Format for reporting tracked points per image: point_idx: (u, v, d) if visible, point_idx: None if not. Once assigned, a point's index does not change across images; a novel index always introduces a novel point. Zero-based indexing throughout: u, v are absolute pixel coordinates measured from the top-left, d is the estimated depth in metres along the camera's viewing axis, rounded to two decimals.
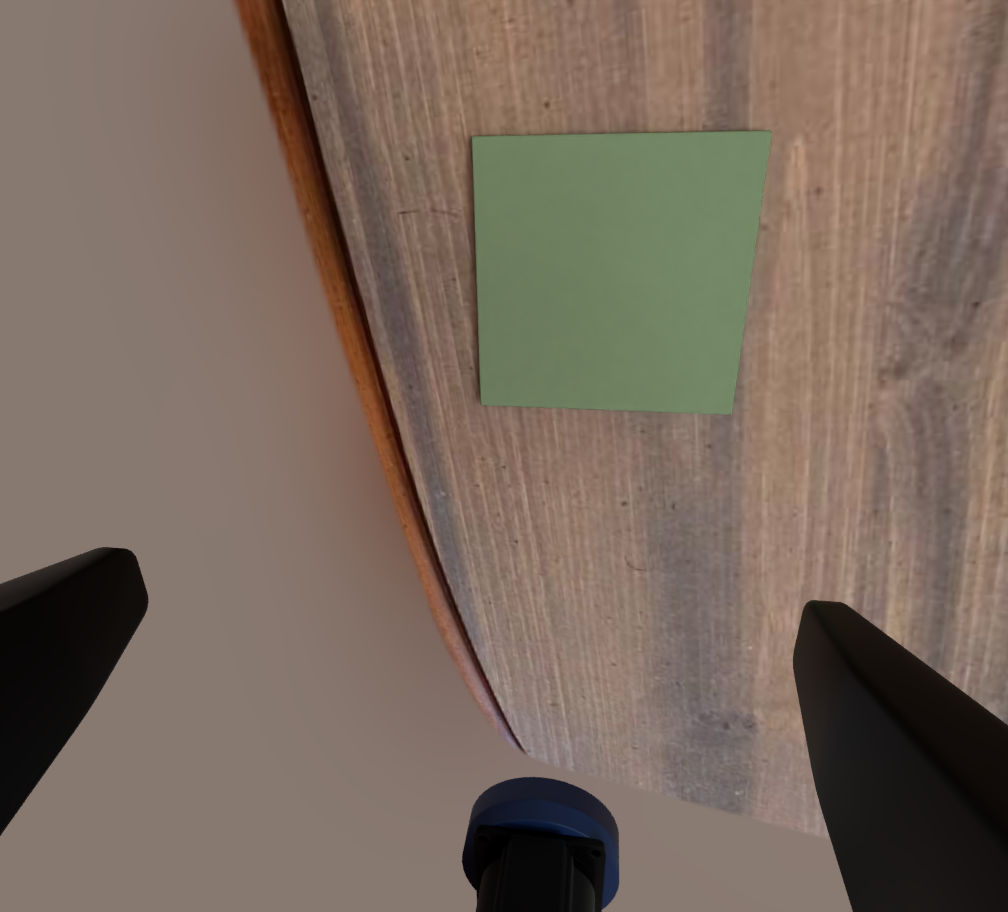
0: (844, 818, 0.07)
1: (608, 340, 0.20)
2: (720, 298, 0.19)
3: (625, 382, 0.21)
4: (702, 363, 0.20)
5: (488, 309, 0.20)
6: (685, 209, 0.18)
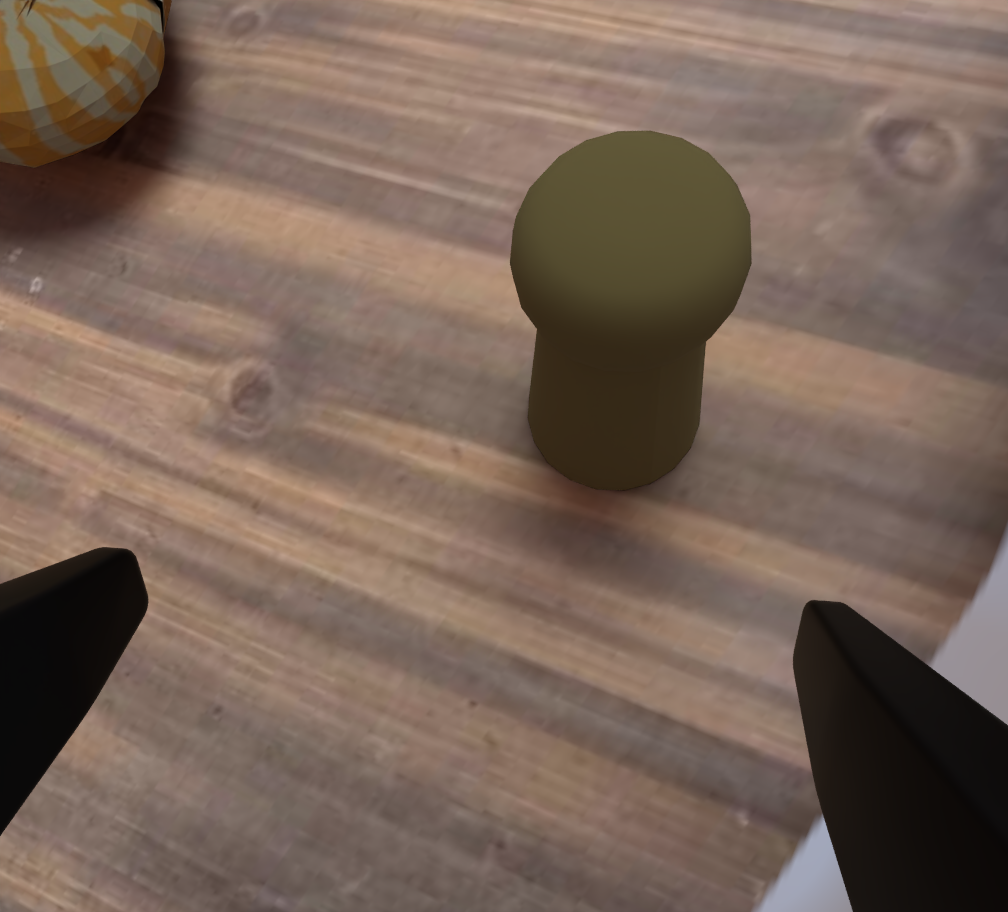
0: (844, 818, 0.07)
1: None
2: None
3: None
4: None
5: None
6: None
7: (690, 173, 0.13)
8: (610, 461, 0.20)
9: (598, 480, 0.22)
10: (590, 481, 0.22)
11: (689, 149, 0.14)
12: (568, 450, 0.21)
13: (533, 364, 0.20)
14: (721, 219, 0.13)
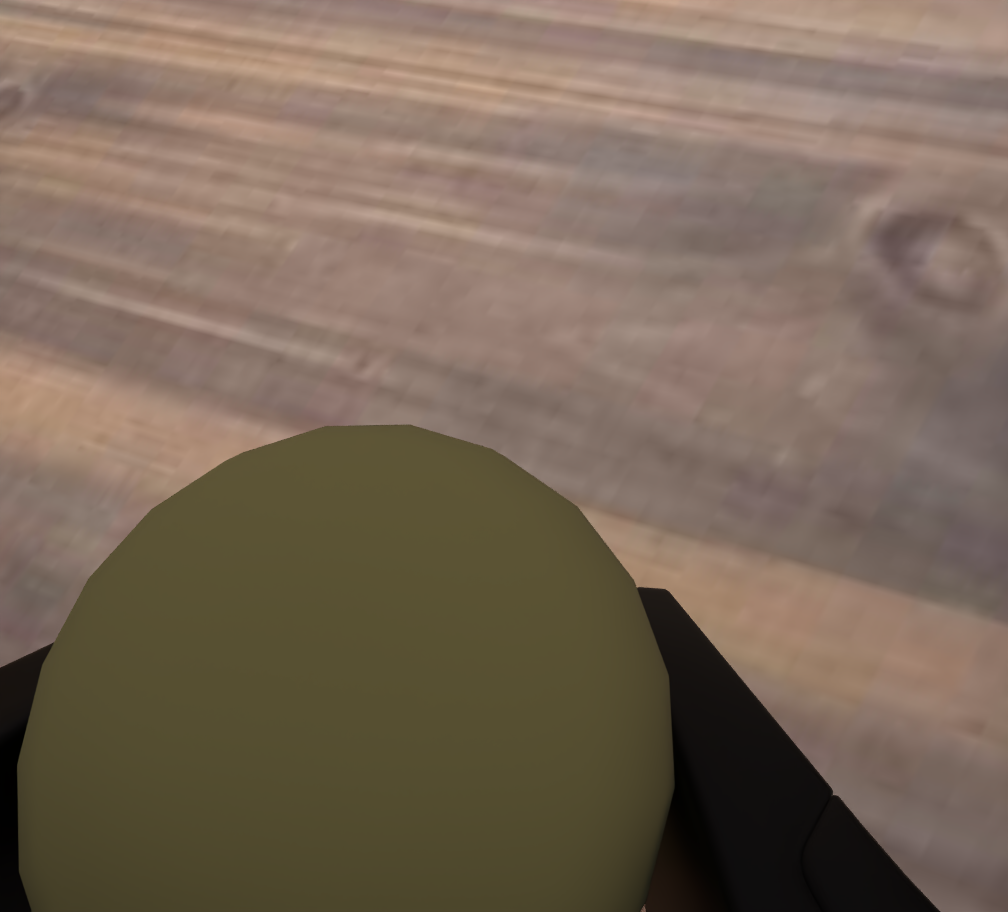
0: None
1: None
2: None
3: None
4: None
5: None
6: None
7: (468, 609, 0.04)
8: None
9: None
10: None
11: (476, 512, 0.05)
12: None
13: None
14: (560, 778, 0.04)
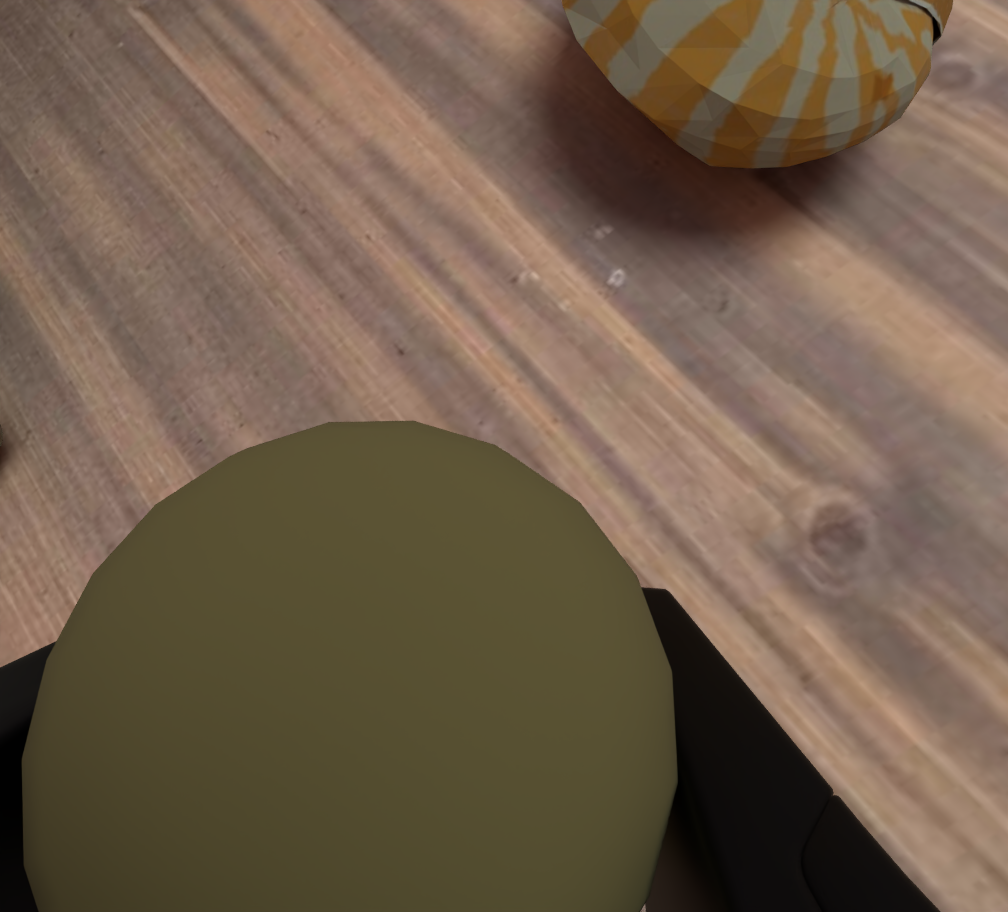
0: None
1: None
2: None
3: None
4: None
5: None
6: None
7: (472, 603, 0.04)
8: None
9: None
10: None
11: (479, 507, 0.05)
12: None
13: None
14: (563, 771, 0.04)
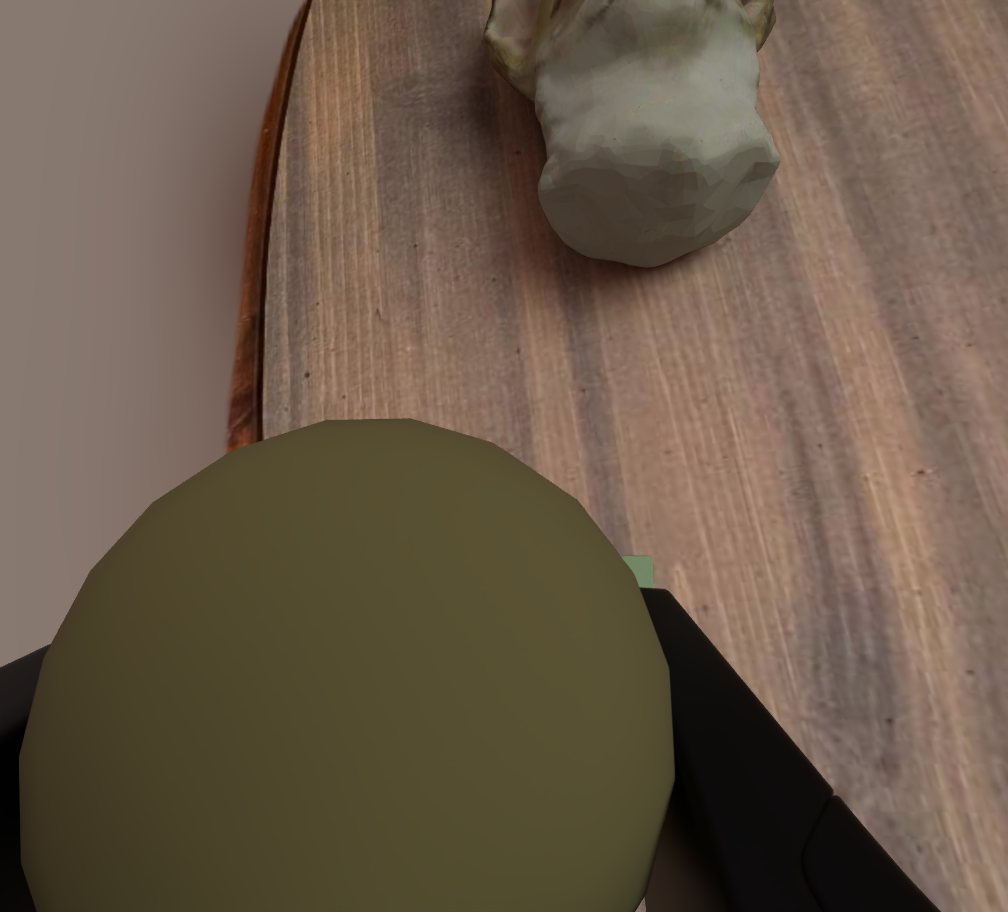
0: None
1: None
2: None
3: None
4: None
5: None
6: None
7: (469, 600, 0.04)
8: None
9: None
10: None
11: (476, 504, 0.05)
12: None
13: None
14: (561, 768, 0.04)
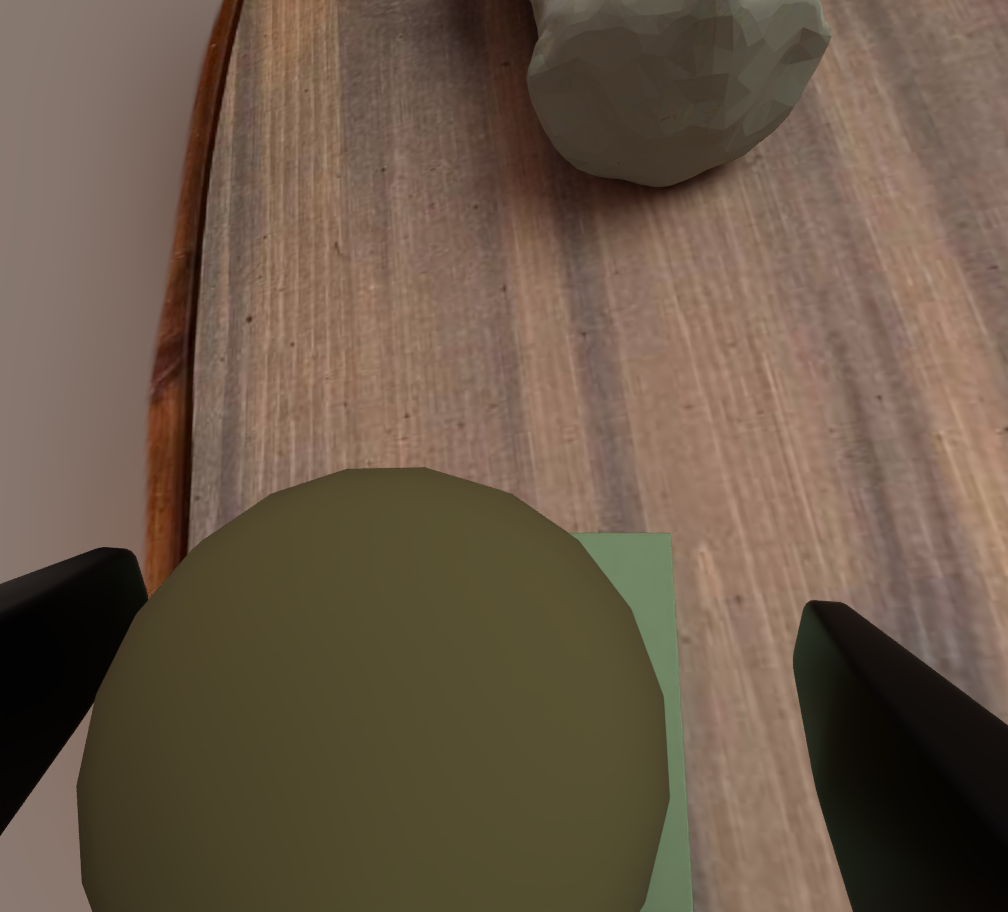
0: (844, 818, 0.07)
1: None
2: None
3: None
4: None
5: None
6: None
7: (483, 643, 0.05)
8: None
9: None
10: None
11: (488, 553, 0.05)
12: None
13: None
14: (568, 795, 0.05)
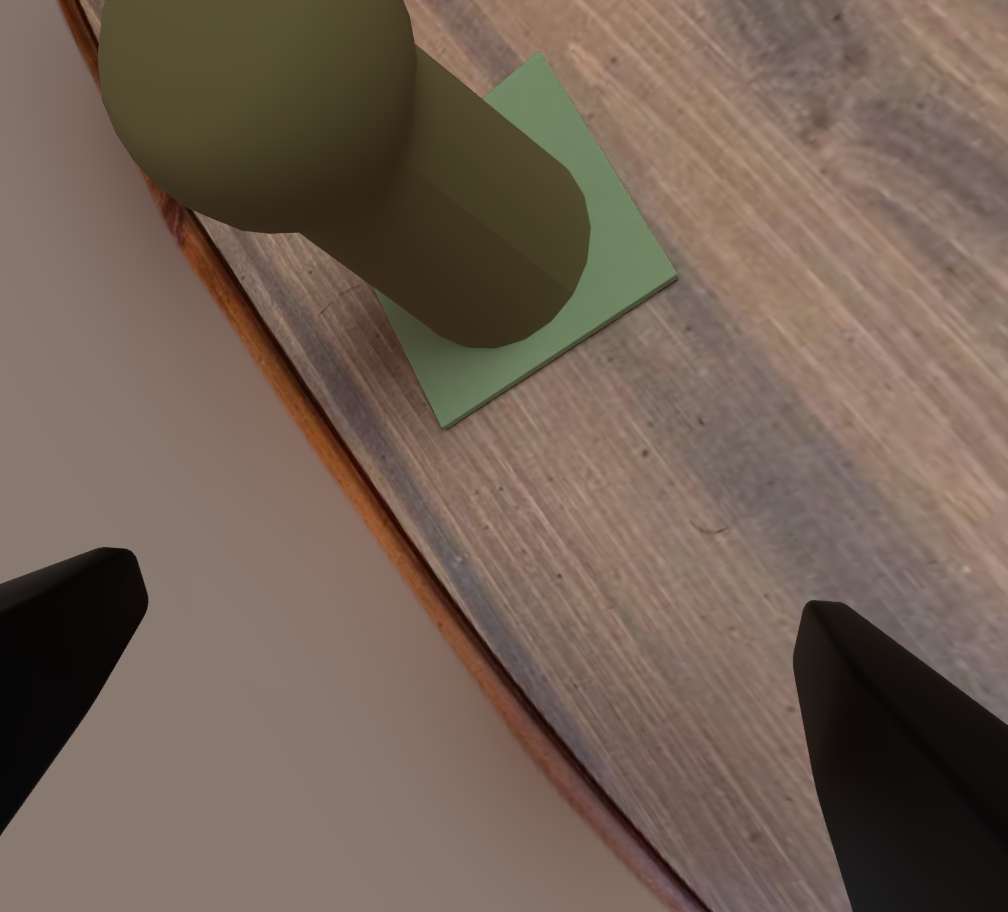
0: (844, 818, 0.07)
1: None
2: (587, 184, 0.18)
3: None
4: (612, 247, 0.18)
5: (406, 335, 0.21)
6: None
7: None
8: (498, 303, 0.17)
9: (515, 329, 0.18)
10: (510, 336, 0.19)
11: None
12: (455, 323, 0.17)
13: None
14: None
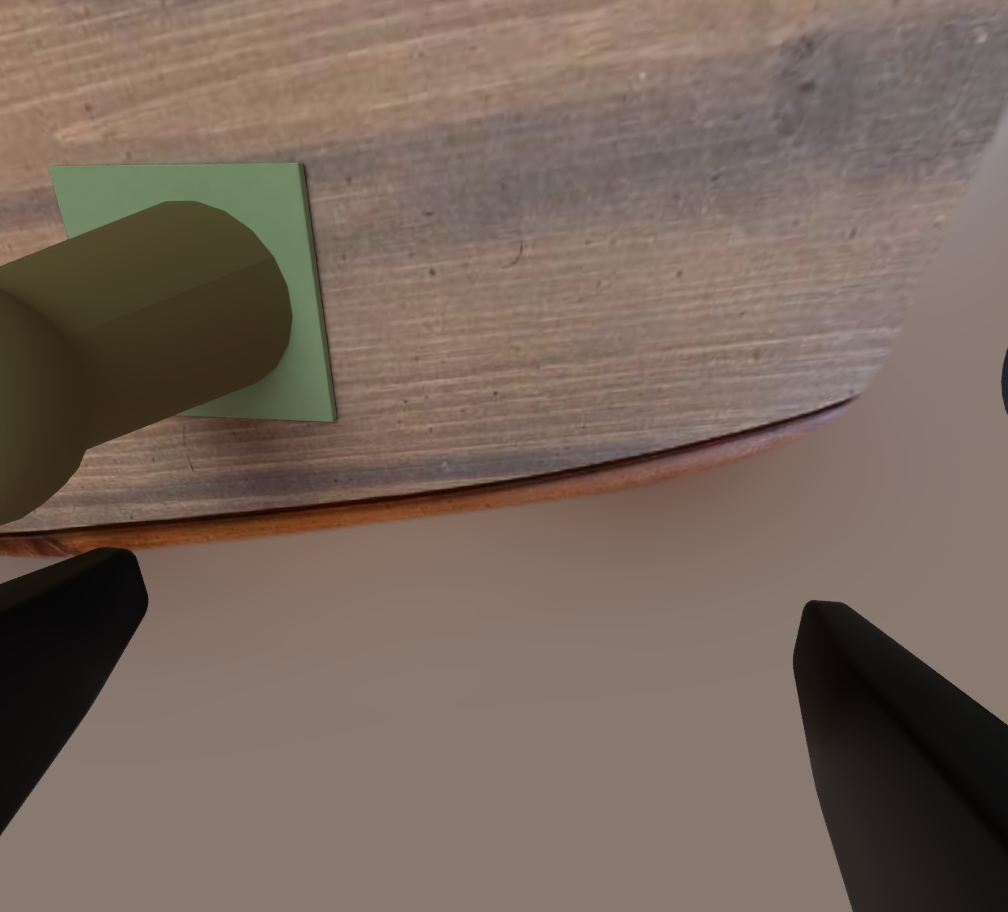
0: (844, 818, 0.07)
1: None
2: (186, 193, 0.20)
3: None
4: (249, 203, 0.20)
5: (243, 409, 0.23)
6: None
7: None
8: (245, 322, 0.19)
9: (278, 319, 0.20)
10: (282, 326, 0.20)
11: None
12: (245, 364, 0.19)
13: None
14: None
